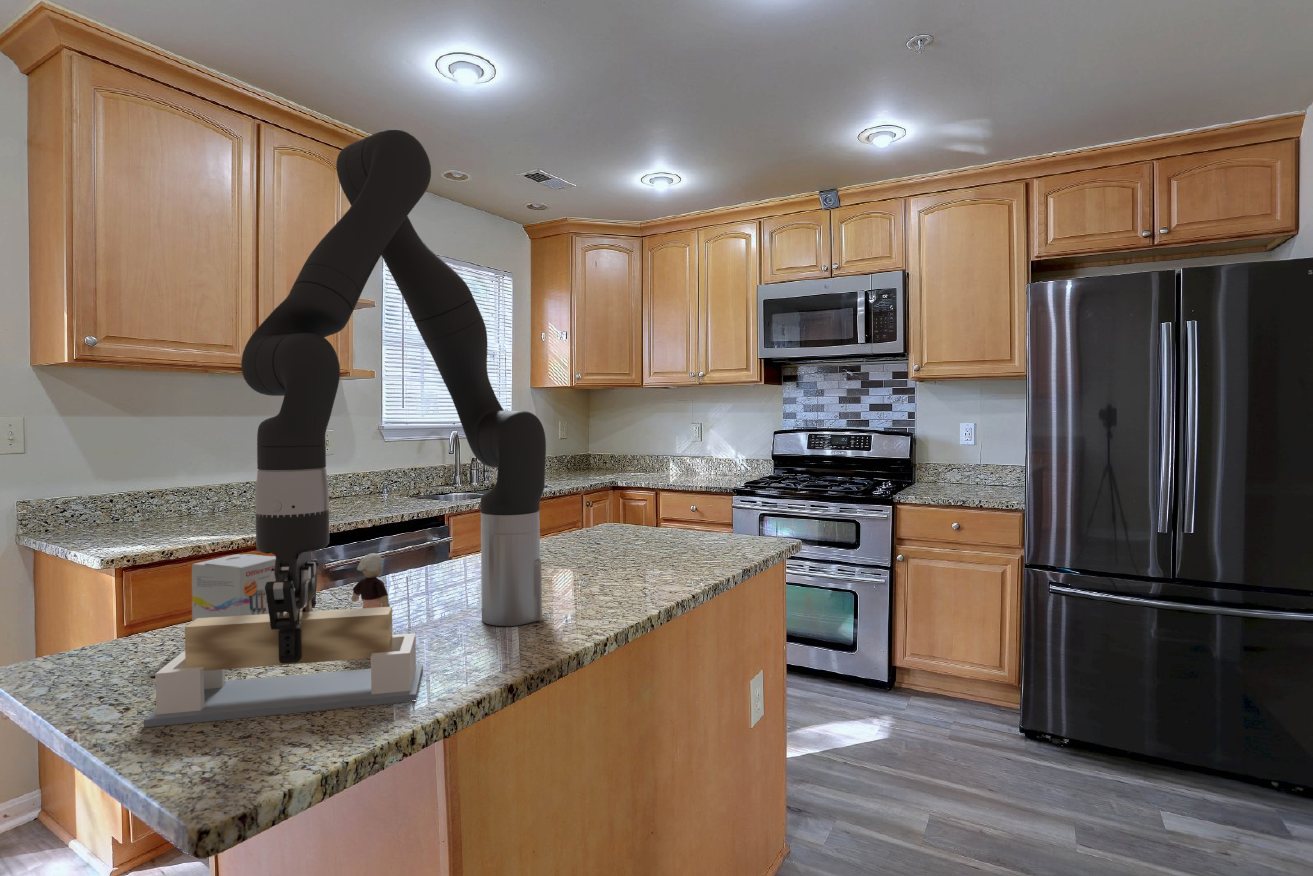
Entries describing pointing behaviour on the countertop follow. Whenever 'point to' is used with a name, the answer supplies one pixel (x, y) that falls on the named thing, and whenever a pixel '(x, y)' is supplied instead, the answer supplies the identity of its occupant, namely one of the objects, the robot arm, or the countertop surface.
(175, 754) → the countertop surface
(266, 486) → the robot arm
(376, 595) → the grandmother figurine
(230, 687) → the end-cap board
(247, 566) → the ink box
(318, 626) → the oak slat
